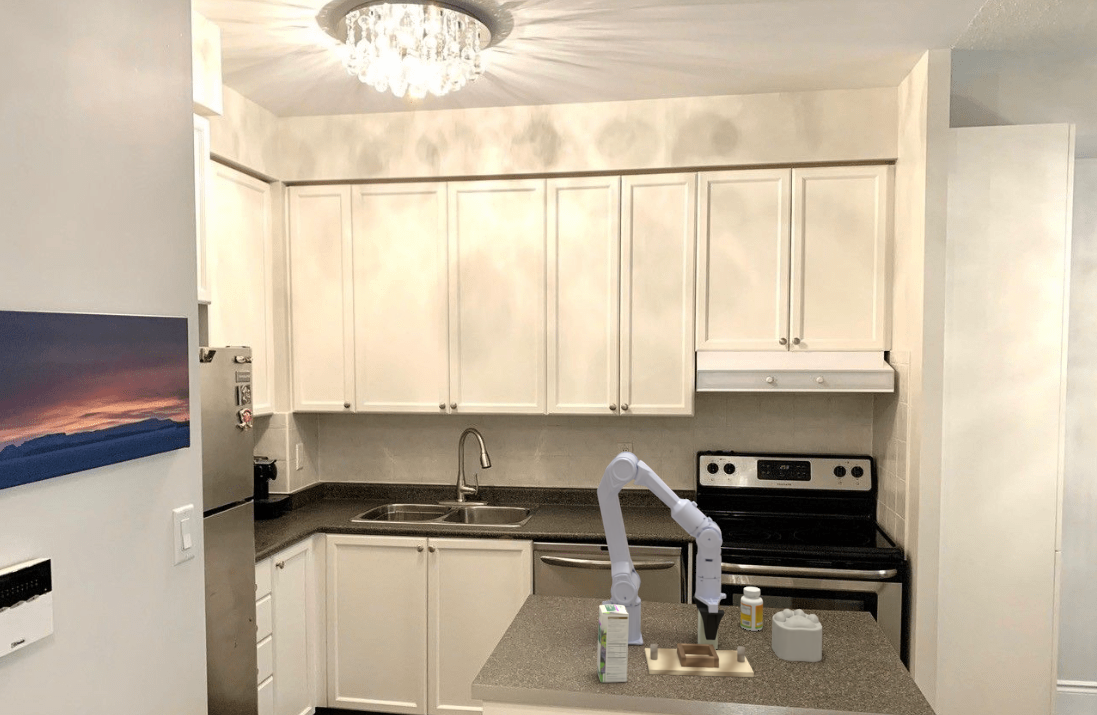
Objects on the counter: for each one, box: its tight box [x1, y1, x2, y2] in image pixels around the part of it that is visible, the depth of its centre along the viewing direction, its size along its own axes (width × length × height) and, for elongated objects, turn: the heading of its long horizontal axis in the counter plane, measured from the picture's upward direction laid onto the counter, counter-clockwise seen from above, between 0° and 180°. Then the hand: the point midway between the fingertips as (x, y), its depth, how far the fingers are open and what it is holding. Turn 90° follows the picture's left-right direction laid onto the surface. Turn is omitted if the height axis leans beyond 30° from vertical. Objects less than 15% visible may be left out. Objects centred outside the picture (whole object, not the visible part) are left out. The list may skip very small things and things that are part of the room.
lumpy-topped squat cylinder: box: [771, 608, 823, 663], centre depth 182 cm, size 10×13×9 cm
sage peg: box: [697, 609, 719, 650], centre depth 183 cm, size 4×4×8 cm
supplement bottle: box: [740, 586, 764, 632], centre depth 196 cm, size 5×5×10 cm
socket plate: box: [644, 643, 755, 678], centre depth 173 cm, size 22×12×4 cm, turn 88°
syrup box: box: [596, 604, 629, 683], centre depth 165 cm, size 6×6×14 cm
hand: (707, 633), depth 183 cm, fingers open, 7 cm apart
